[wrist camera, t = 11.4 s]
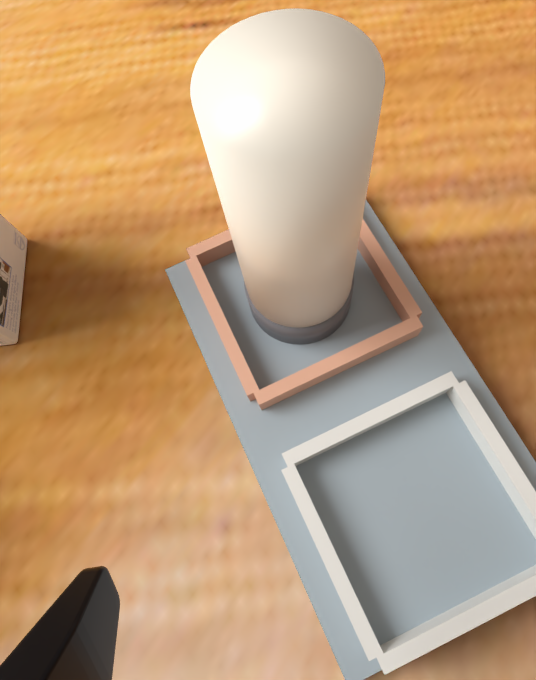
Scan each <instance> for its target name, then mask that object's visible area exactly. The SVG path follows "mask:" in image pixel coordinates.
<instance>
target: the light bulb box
mask: <svg viewBox="0 0 536 680" xmlns="http://www.w3.org/2000/svg"><path fill="white" fill-rule="evenodd" d="M26 252H27V238H26V237H25V236H24V235H22V234H21V233H20V232H19V231H18V230H17V229H16V228H15V227H14V226H13V225H12V224H11V223H9V222H8V221H7V220H6V219H5V218H4V217H3V216H2V215H1V214H0V346H1V345H10V344H16V343H17V342H18V335H19V325H20V314H21V303H22V293H23V283H24V272H25V262H26Z"/></svg>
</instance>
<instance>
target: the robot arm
mask: <svg viewBox="0 0 536 680" xmlns="http://www.w3.org/2000/svg"><path fill="white" fill-rule="evenodd" d="M119 610H120V599H119V595H118V592H117V590H116V587H115V585H114V583H113V580H112V578H111V576H110V573H109V571H108V569H107V568H106V567H104V566H99V567H93V568H87V569H84V570H83V571H81V572H80V573H79V574H78V575H77V577H76V578H75V579H74V580H73V581H72V582H71V584H70V585H69V586H68V587H67V588H66V589H65V591H64V592H63V593H62V594H61V595H60V596H59V598H58V599H57V600H56V601H55V602H54V603H53V605H52V606H51V607H50V608H49V609H48V610H47V612H46V613H45V614H44V615H43V616H42V617H41V619H40V620H39V621H38V622H37V623H36V624H35V626H34V627H33V628H32V629H31V630H30V631H29V633H28V634H27V635H26V636H25V637H24V639H23V640H22V641H21V642H20V643H19V644H18V646H17V647H16V648H15V649H14V650H13V651H12V653H11V654H10V655H9V656H8V657H7V658H6V660H5V661H4V662H3V663H2V664H1V665H0V680H112V673H113V664H114V655H115V646H116V637H117V628H118V619H119Z"/></svg>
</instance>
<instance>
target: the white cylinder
mask: <svg viewBox="0 0 536 680" xmlns="http://www.w3.org/2000/svg"><path fill="white" fill-rule="evenodd" d="M384 86H385V71H384V65H383V61H382V59H381V56H380V53H379V52H378V50H377V48H376V46H375V45H374V43H373V42H372V41H371V40H370V38H369V37H368V36H367V35H366V34H365V33H364V32H362V31H361V30H360V29H359V28H357V27H356V26H355V25H353V24H352V23H350V22H348V21H346V20H344V19H342V18H340V17H337V16H335V15H332V14H329V13H325V12H321V11H316V10H310V9H282V10H274V11H269V12H265V13H261V14H258V15H255V16H252V17H249V18H247V19H244V20H242V21H240V22H238V23H236V24H235V25H233V26H231V27H229V28H228V29H226V30H225V31H224V32H222V33H221V34H220V35H219V36H217V37H216V38H215V39H214V40H213V41H212V42H211V43H210V44H209V45H208V47H207V48H206V49H205V50H204V52H203V53H202V55H201V56H200V58H199V60H198V62H197V64H196V66H195V68H194V71H193V74H192V79H191V85H190V94H191V101H192V106H193V109H194V113H195V116H196V120H197V123H198V126H199V130H200V133H201V136H202V140H203V143H204V147H205V150H206V153H207V157H208V160H209V164H210V167H211V170H212V174H213V177H214V180H215V184H216V187H217V191H218V194H219V197H220V201H221V204H222V207H223V211H224V214H225V218H226V221H227V224H228V228H229V231H230V234H231V238H232V241H233V245H234V248H235V251H236V255H237V258H238V261H239V265H240V268H241V272H242V275H243V278H244V288H245V293H246V296H247V299H248V303H249V306H250V309H251V312H252V315H253V317H254V319H255V321H256V322H257V324H258V325H259V327H260V328H261V329H262V330H263V331H264V332H265V333H267V334H268V335H269V336H271V337H273V338H274V339H277V340H279V341H281V342H285V343H289V344H299V345H301V344H310V343H314V342H317V341H320V340H322V339H324V338H326V337H328V336H330V335H331V334H333V333H334V332H335V331H336V330H337V329H338V328H339V327H340V326H341V325H342V323H343V322H344V320H345V319H346V317H347V314H348V312H349V309H350V304H351V299H352V293H353V287H354V267H355V261H356V255H357V249H358V243H359V237H360V231H361V225H362V219H363V213H364V207H365V201H366V195H367V189H368V183H369V177H370V171H371V165H372V159H373V153H374V147H375V141H376V134H377V128H378V122H379V116H380V110H381V104H382V98H383V92H384Z"/></svg>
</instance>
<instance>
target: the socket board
mask: <svg viewBox="0 0 536 680" xmlns="http://www.w3.org/2000/svg"><path fill="white" fill-rule="evenodd" d="M186 249H187V252H188V254H189V256H190V258H189V259H187V260H185V261H183V262H181V263H178V264H176V265H174V266H172V267H170V268H167V269H165V271H166V273H167V275H168V277H169V280H170V282H171V284H172V287H173V289H174V291H175V293H176V296H177V298H178V300H179V302H180V305H181V307H182V309H183V312H184V314H185V316H186V318H187V321H188V323H189V325H190V328H191V330H192V332H193V334H194V337H195V339H196V341H197V343H198V346H199V348H200V350H201V353H202V355H203V357H204V359H205V362H206V364H207V366H208V369H209V371H210V373H211V375H212V378H213V380H214V382H215V384H216V387H217V389H218V391H219V394H220V396H221V398H222V400H223V403H224V405H225V407H226V410H227V412H228V414H229V416H230V419H231V421H232V423H233V425H234V428H235V430H236V432H237V435H238V437H239V439H240V441H241V444H242V446H243V448H244V451H245V453H246V455H247V457H248V460H249V462H250V464H251V466H252V469H253V471H254V473H255V476H256V478H257V480H258V482H259V485H260V487H261V489H262V492H263V494H264V496H265V498H266V501H267V503H268V505H269V507H270V510H271V512H272V514H273V517H274V519H275V521H276V523H277V526H278V528H279V530H280V533H281V535H282V537H283V539H284V542H285V544H286V546H287V548H288V551H289V553H290V555H291V558H292V560H293V562H294V564H295V567H296V569H297V571H298V574H299V576H300V578H301V580H302V583H303V585H304V587H305V589H306V592H307V594H308V596H309V599H310V601H311V603H312V605H313V608H314V610H315V612H316V615H317V617H318V619H319V621H320V624H321V626H322V628H323V630H324V633H325V635H326V637H327V640H328V642H329V644H330V646H331V649H332V651H333V653H334V656H335V658H336V660H337V662H338V665H339V667H340V669H341V671H342V674H343V676H344V678H345V680H364V679H366V678H368V677H370V676H371V675H373V674H375V673H377V672H379V671H381V670H382V671H383V673H384V675H386V674H388V673H389V672H391V671H393V670H395V669H397V668H399V667H401V666H403V665H405V664H407V663H409V662H411V661H412V660H414V659H416V658H418V657H420V656H422V655H424V654H426V653H428V652H430V651H432V650H433V649H435V648H437V647H439V646H441V645H443V644H445V643H447V642H449V641H451V640H453V639H454V638H456V637H458V636H460V635H462V634H464V633H466V632H468V631H470V630H472V629H474V628H475V627H477V626H479V625H481V624H483V623H485V622H487V621H489V620H491V619H493V618H495V617H496V616H498V615H500V614H502V613H504V612H506V611H508V610H510V609H512V608H514V607H516V606H517V605H519V604H521V603H523V602H525V601H527V600H529V599H531V598H533V597H535V596H536V461H535V460H534V458H533V457H532V455H531V454H530V452H529V451H528V449H527V448H526V446H525V444H524V443H523V441H522V440H521V438H520V437H519V435H518V434H517V432H516V431H515V429H514V427H513V426H512V424H511V423H510V421H509V420H508V418H507V417H506V415H505V414H504V412H503V410H502V409H501V407H500V406H499V404H498V403H497V401H496V400H495V398H494V397H493V395H492V393H491V392H490V390H489V389H488V387H487V386H486V384H485V383H484V381H483V380H482V378H481V376H480V375H479V373H478V372H477V370H476V369H475V367H474V366H473V364H472V363H471V361H470V359H469V358H468V356H467V355H466V353H465V352H464V350H463V349H462V347H461V346H460V344H459V342H458V341H457V339H456V338H455V336H454V335H453V333H452V332H451V330H450V329H449V327H448V325H447V324H446V322H445V321H444V319H443V318H442V316H441V315H440V313H439V312H438V310H437V308H436V307H435V305H434V304H433V302H432V301H431V299H430V298H429V296H428V295H427V293H426V291H425V290H424V288H423V287H422V285H421V284H420V282H419V281H418V279H417V278H416V276H415V274H414V273H413V271H412V270H411V268H410V267H409V265H408V264H407V262H406V261H405V259H404V257H403V256H402V254H401V253H400V251H399V250H398V248H397V247H396V245H395V244H394V242H393V240H392V239H391V237H390V236H389V234H388V233H387V231H386V230H385V228H384V227H383V225H382V223H381V222H380V220H379V219H378V217H377V216H376V214H375V213H374V211H373V209H372V208H371V206H370V205H369V203H368V202H367V200H366V201H365V207H364V213H363V219H362V225H361V231H360V237H359V243H358V249H357V255H356V261H355V267H354V287H353V293H352V299H351V304H350V309H349V312H348V314H347V317H346V319H345V320H344V322H343V323H342V325H341V326H340V327H339V328H338V329H337V330H336V331H335V332H334V333H333V334H331V335H330V336H328V337H326V338H324V339H322V340H320V341H317V342H314V343H310V344H301V345H299V344H289V343H285V342H281V341H279V340H277V339H274V338H273V337H271V336H269V335H268V334H267V333H265V332H264V331H263V330H262V329H261V328H260V327H259V325H258V324H257V322H256V321H255V319H254V317H253V315H252V312H251V309H250V306H249V303H248V299H247V296H246V293H245V288H244V278H243V275H242V272H241V268H240V265H239V261H238V258H237V255H236V251H235V248H234V245H233V241H232V238H231V234H230V231H229V229H228V230H226V231H224V232H222V233H219V234H217V235H215V236H213V237H211V238H208V239H206V240H204V241H202V242H200V243H197V244H195V245H193V246H191V247H189V248H186Z"/></svg>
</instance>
